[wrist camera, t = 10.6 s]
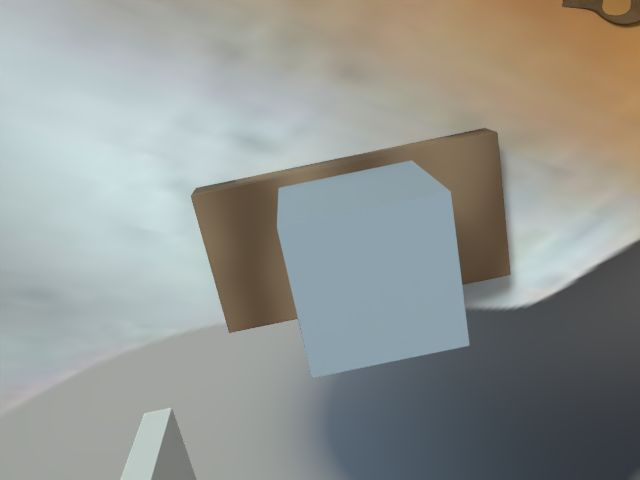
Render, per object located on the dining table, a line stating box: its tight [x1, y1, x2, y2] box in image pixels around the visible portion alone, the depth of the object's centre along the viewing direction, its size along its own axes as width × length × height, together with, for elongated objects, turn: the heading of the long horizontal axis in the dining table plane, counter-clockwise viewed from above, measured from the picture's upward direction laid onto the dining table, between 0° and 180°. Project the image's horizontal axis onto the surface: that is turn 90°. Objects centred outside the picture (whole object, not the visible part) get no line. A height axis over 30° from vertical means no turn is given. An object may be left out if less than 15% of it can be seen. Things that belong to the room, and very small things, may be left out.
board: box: [191, 128, 510, 333], centre depth 30 cm, size 16×8×2 cm, turn 101°
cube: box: [277, 160, 470, 378], centre depth 26 cm, size 7×7×7 cm
